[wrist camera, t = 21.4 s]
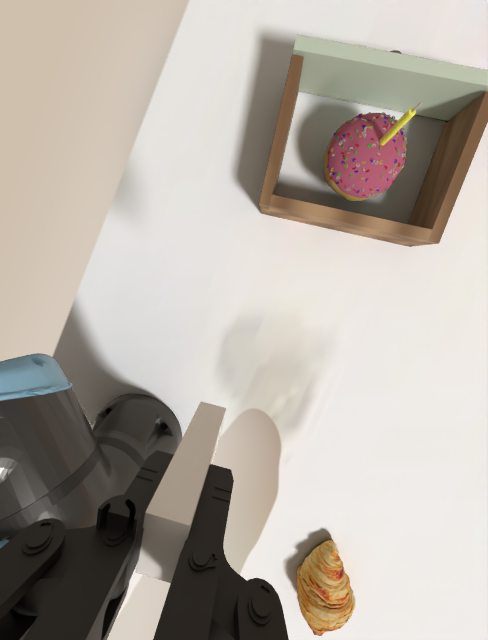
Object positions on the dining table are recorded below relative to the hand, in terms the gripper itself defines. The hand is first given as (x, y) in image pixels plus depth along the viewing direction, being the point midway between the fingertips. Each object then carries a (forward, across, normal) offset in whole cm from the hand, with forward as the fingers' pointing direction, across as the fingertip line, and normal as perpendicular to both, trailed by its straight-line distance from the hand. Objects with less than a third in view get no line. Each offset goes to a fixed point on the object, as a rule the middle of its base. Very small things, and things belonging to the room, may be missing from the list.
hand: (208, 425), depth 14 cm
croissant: (+25, +25, -45) cm, 57 cm away
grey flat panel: (+24, +9, +32) cm, 41 cm away
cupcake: (+25, +9, +23) cm, 35 cm away
